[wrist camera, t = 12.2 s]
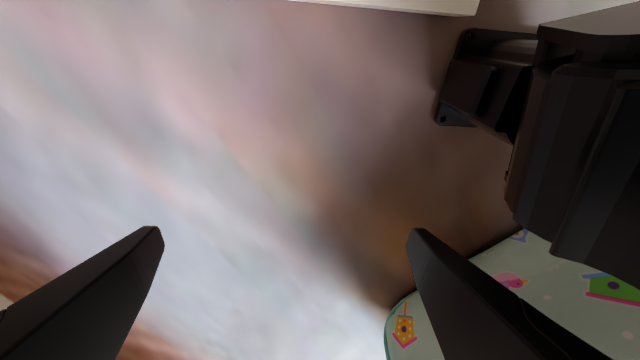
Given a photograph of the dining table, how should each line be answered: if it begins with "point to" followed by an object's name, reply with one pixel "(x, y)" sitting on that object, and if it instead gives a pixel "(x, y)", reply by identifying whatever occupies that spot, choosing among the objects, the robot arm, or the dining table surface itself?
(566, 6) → the dining table surface
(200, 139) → the dining table surface
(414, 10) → the white rectangular frame
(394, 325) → the lunch box
